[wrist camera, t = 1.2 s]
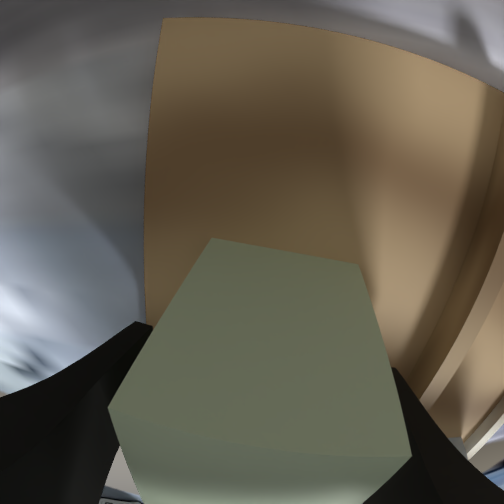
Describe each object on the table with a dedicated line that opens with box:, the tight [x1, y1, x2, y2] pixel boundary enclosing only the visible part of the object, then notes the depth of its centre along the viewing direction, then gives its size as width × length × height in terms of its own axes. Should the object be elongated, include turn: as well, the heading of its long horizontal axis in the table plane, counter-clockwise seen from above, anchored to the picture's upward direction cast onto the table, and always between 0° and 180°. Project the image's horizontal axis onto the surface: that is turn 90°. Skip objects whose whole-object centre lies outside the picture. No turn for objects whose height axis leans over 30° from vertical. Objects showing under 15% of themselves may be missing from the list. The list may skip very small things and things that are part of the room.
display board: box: [144, 17, 504, 460], centre depth 12 cm, size 24×18×3 cm
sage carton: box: [108, 238, 412, 504], centre depth 8 cm, size 7×5×6 cm, turn 172°
